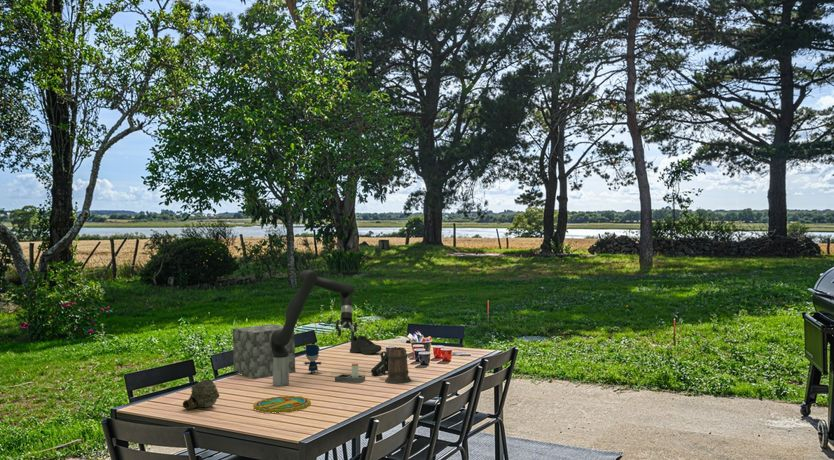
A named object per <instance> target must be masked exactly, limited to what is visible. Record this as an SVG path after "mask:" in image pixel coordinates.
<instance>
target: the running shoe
mask: <svg viewBox="0 0 834 460" xmlns="http://www.w3.org/2000/svg"><path fill="white" fill-rule="evenodd" d="M349 352H350V353H352V354H353V353H354V354H357V353H358V352H359V353H362V354H363V355H372V354H375V353H379V352H382V345H379V344H375V343H374V342H373V341H371V339H369V338H367V336H366V335H359V336H358V337H357V336H356V335H354V337H353V338H351V340H350V348H349ZM359 353H358V354H359Z"/></svg>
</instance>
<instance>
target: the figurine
mask: <svg viewBox="0 0 834 460" xmlns="http://www.w3.org/2000/svg"><path fill="white" fill-rule="evenodd" d="M319 353H320V351H319V345H318V344H313V343H312V344H311V343H310V344H309V343H308V344H307V343H306V345H305V357H306V359H307V360H308V361H305V362H303V364H304V366H307V365H308V372H311V374H315V373H316V372H317V371H318V370H319V368H318V365H320V366H321V365H322V364H323V362H321V361H317V360H318V358H319V357H320V355H319Z"/></svg>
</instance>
